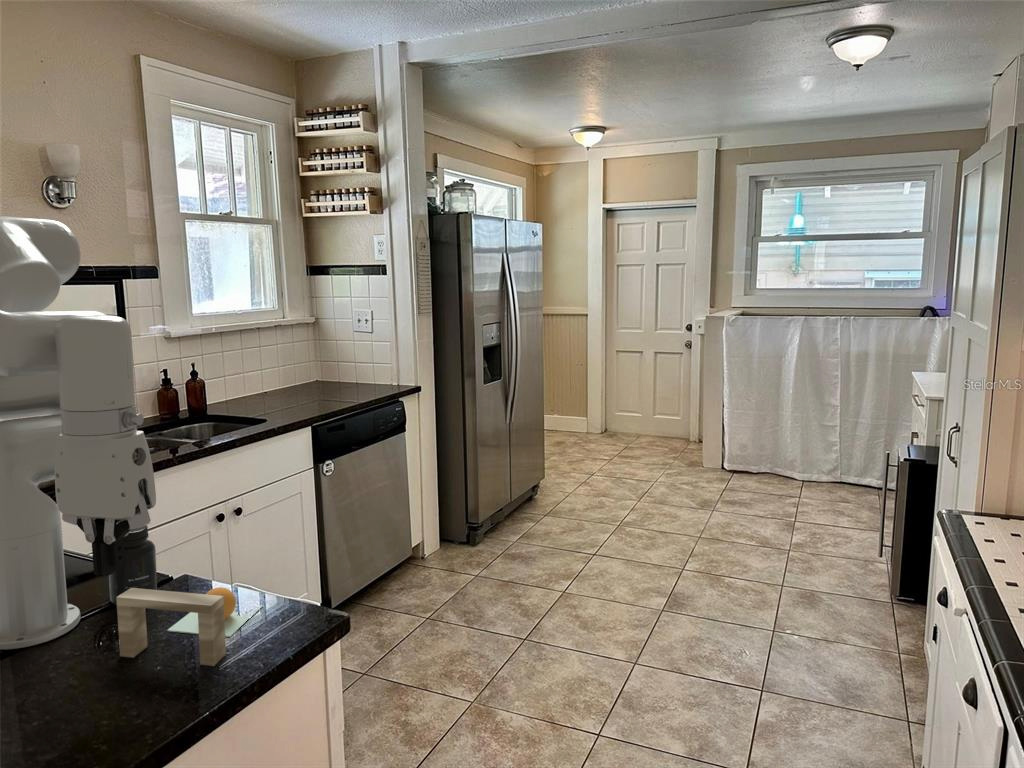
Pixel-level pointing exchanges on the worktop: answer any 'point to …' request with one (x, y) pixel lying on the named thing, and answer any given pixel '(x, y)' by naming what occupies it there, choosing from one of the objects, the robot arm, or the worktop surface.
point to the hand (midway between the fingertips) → (109, 570)
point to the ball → (225, 599)
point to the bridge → (205, 605)
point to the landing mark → (191, 626)
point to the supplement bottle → (135, 565)
